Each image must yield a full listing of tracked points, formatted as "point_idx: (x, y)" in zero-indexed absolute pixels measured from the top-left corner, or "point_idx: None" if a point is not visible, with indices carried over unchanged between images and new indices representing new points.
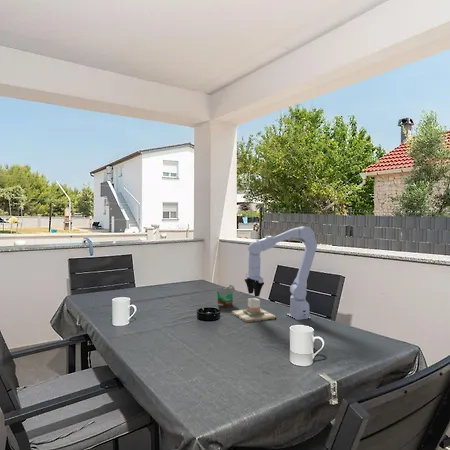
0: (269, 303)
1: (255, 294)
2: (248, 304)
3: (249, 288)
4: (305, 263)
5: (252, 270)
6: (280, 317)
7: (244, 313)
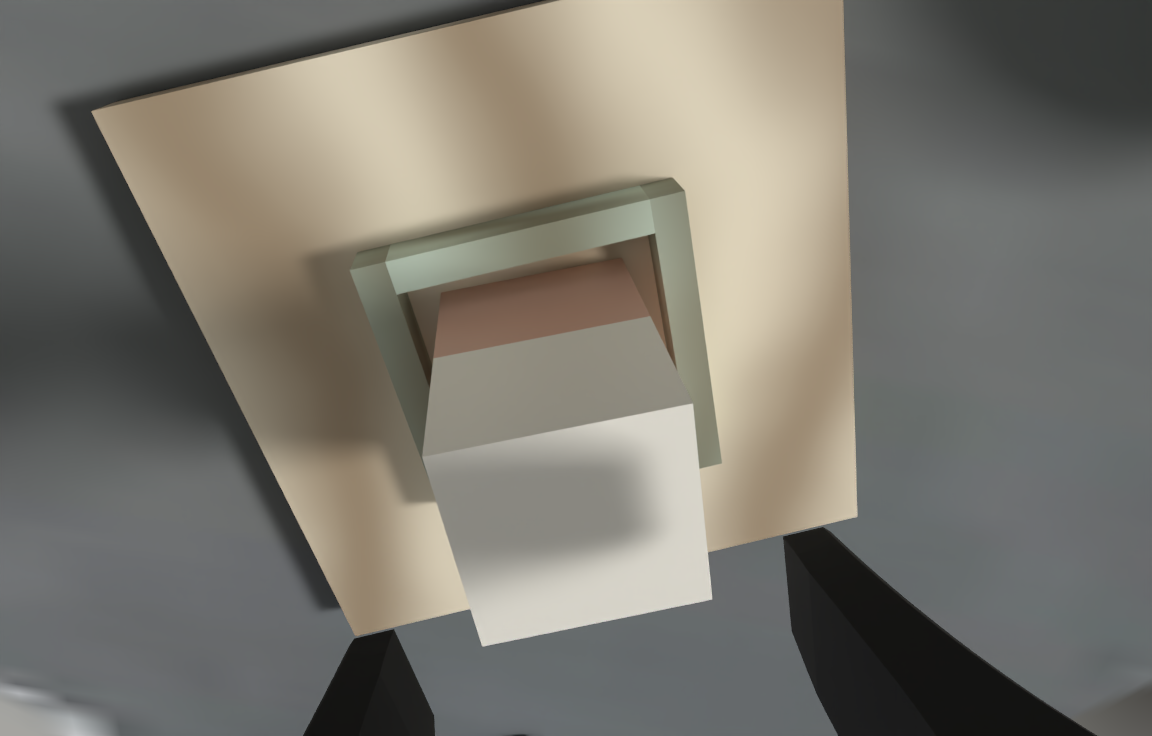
0: (1101, 657)
1: (325, 699)
2: (610, 343)
3: (872, 685)
4: None
5: None
6: (434, 661)
7: (580, 186)
